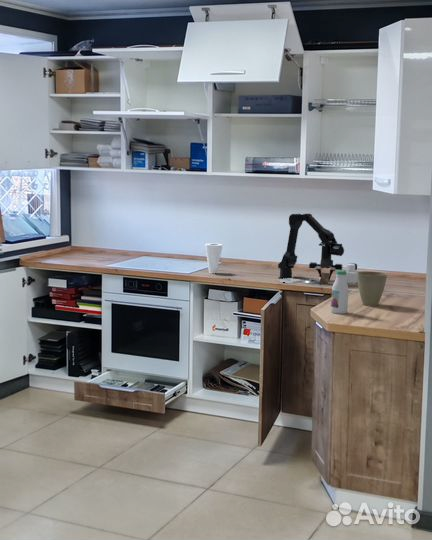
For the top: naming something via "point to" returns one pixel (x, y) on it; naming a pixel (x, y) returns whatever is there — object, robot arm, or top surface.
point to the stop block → (325, 278)
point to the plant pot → (371, 286)
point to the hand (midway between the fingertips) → (325, 280)
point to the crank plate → (315, 284)
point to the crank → (312, 281)
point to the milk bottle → (339, 294)
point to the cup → (213, 256)
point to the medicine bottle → (351, 273)
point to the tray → (288, 280)
